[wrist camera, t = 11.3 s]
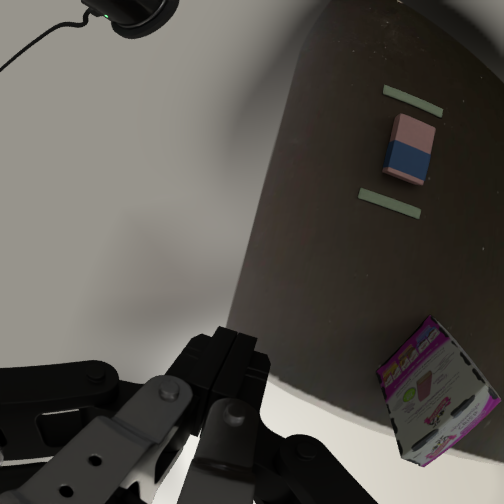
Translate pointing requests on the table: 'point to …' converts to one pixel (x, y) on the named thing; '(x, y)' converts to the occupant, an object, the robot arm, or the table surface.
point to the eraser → (409, 149)
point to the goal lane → (385, 200)
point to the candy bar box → (433, 393)
